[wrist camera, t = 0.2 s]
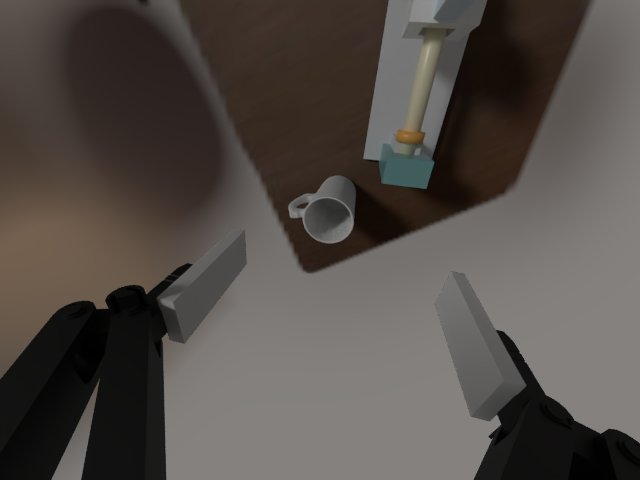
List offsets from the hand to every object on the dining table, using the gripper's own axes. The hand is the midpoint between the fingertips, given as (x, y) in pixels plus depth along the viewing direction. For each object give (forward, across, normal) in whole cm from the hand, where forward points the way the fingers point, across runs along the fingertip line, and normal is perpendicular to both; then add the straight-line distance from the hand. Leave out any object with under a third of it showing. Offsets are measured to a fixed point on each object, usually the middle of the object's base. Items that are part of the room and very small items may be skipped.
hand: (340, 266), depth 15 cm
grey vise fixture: (+28, +5, +13) cm, 31 cm away
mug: (+28, -4, -5) cm, 29 cm away
